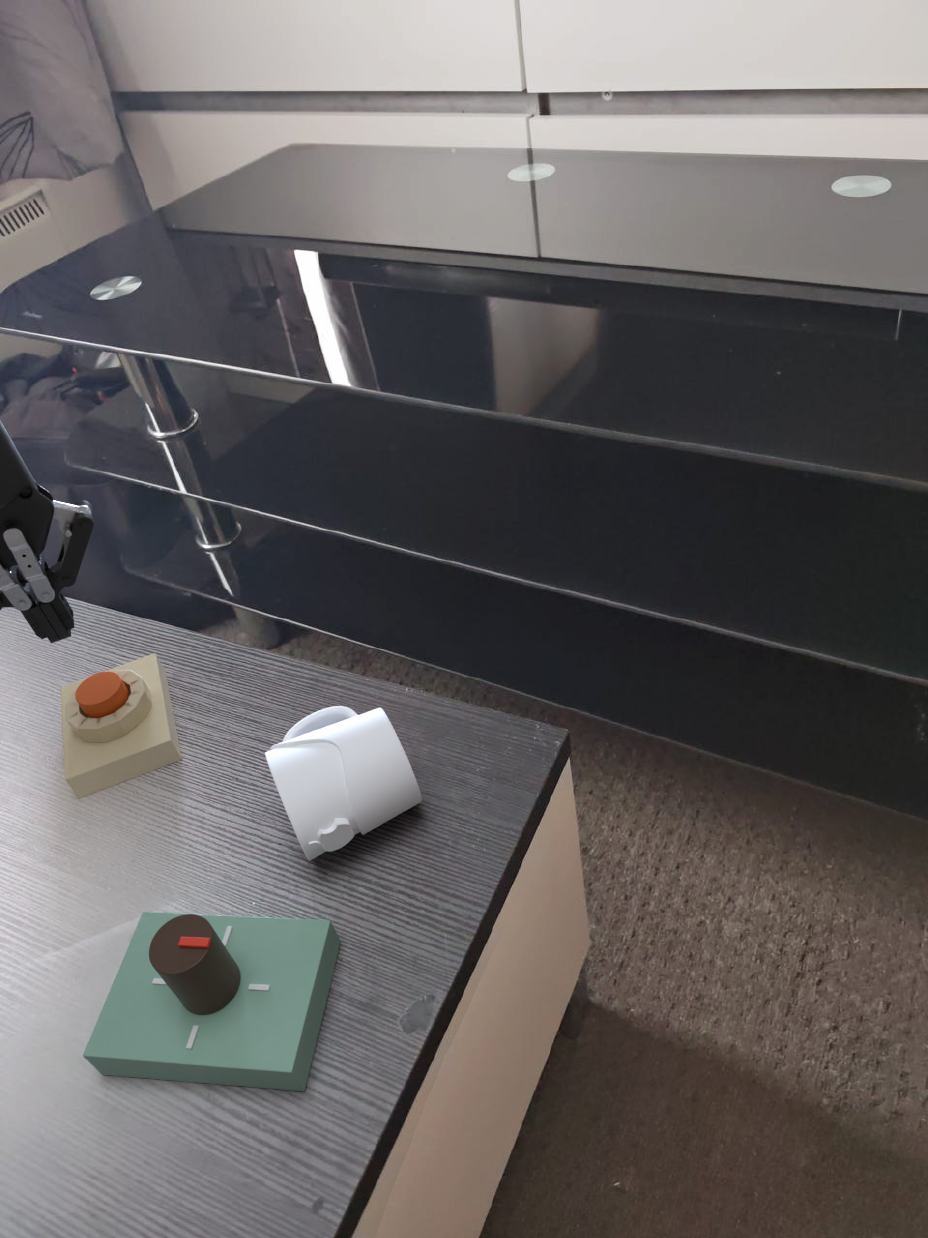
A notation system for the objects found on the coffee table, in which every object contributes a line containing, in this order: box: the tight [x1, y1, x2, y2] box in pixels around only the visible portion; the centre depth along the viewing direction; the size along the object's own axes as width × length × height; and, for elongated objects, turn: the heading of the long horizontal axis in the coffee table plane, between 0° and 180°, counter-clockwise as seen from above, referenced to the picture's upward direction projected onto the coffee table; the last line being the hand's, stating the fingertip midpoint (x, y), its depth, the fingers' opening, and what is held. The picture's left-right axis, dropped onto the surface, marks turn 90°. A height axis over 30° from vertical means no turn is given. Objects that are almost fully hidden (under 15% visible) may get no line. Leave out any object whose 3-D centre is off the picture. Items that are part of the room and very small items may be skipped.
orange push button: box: [75, 670, 129, 718], centre depth 79 cm, size 4×4×2 cm
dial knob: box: [149, 913, 240, 1015], centre depth 58 cm, size 4×4×6 cm
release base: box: [59, 653, 183, 799], centre depth 81 cm, size 12×9×4 cm
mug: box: [264, 705, 422, 862], centre depth 70 cm, size 12×9×8 cm
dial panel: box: [82, 911, 342, 1092], centre depth 61 cm, size 14×10×3 cm
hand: (61, 633), depth 69 cm, fingers closed
